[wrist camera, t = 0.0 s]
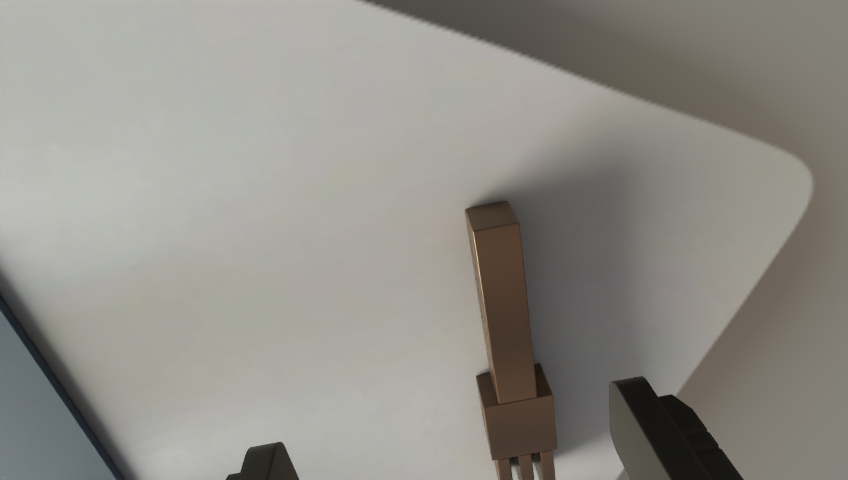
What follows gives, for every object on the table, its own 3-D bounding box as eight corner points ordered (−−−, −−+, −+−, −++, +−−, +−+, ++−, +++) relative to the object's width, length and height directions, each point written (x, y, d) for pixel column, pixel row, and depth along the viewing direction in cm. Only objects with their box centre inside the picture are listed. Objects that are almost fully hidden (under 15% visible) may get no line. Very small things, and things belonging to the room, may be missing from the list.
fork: (447, 211, 23) (453, 234, 21) (524, 197, 23) (538, 218, 21) (492, 472, 32) (500, 507, 29) (549, 461, 32) (561, 496, 29)
